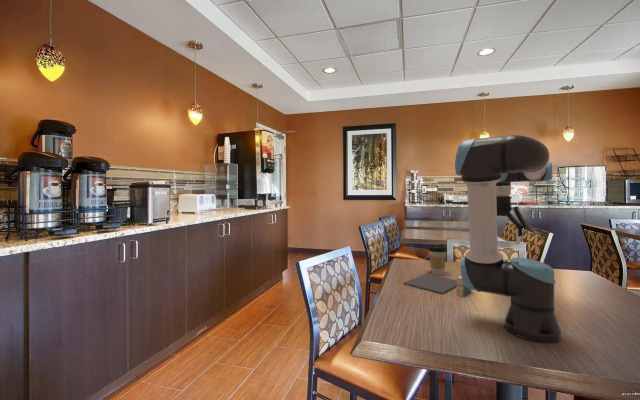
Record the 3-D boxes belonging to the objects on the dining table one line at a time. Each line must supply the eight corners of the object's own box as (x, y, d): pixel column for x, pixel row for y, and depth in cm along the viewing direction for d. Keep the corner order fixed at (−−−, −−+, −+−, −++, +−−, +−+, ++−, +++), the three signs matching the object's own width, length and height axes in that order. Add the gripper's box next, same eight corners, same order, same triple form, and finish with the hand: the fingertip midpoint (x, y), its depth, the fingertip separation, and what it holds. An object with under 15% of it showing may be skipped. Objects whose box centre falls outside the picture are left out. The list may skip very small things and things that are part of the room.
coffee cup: (448, 272, 166) (448, 246, 166) (445, 277, 158) (445, 249, 158) (430, 270, 172) (430, 244, 171) (426, 274, 163) (426, 247, 163)
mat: (442, 294, 133) (442, 292, 133) (403, 284, 148) (403, 282, 148) (463, 283, 148) (463, 281, 148) (426, 275, 162) (426, 273, 162)
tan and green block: (463, 296, 130) (463, 278, 129) (456, 295, 132) (456, 277, 131) (471, 291, 136) (471, 274, 135) (465, 290, 138) (465, 273, 137)
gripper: (536, 195, 129) (535, 244, 129) (476, 195, 148) (476, 237, 149) (530, 195, 124) (530, 246, 125) (469, 195, 143) (469, 239, 144)
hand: (500, 241), depth 137 cm, fingers open, 13 cm apart
